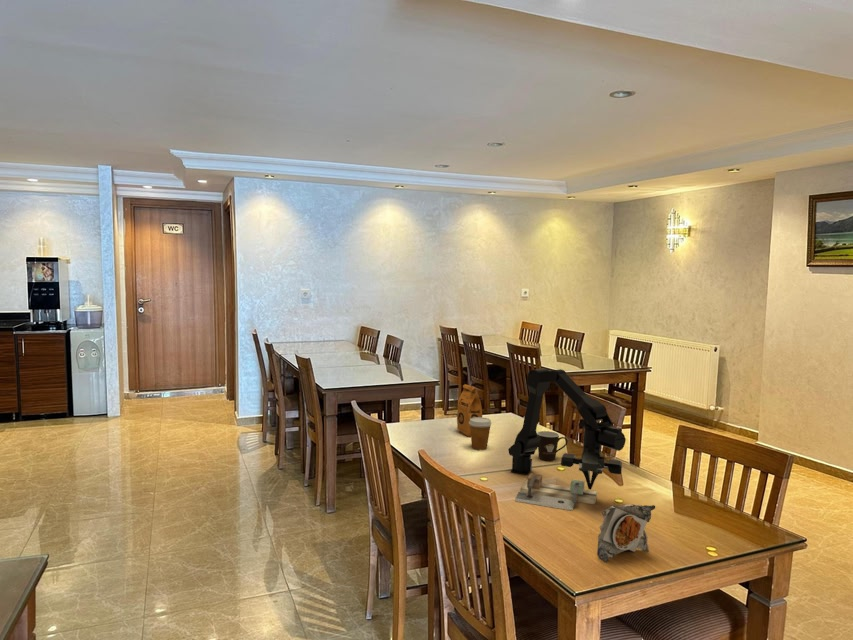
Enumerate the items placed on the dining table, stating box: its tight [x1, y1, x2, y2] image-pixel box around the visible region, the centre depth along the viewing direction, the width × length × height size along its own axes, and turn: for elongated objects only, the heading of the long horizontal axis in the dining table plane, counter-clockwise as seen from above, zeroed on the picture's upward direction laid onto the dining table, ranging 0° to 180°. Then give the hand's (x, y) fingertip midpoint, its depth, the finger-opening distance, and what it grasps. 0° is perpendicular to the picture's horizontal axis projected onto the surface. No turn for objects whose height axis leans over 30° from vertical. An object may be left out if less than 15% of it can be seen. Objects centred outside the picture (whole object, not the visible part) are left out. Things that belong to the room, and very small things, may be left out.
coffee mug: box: [536, 430, 569, 462], centre depth 223 cm, size 12×9×10 cm
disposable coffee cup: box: [469, 416, 492, 451], centre depth 235 cm, size 10×10×12 cm
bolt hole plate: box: [514, 491, 576, 512], centre depth 180 cm, size 18×6×1 cm, turn 69°
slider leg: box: [569, 479, 586, 504], centre depth 181 cm, size 4×12×3 cm, turn 159°
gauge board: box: [519, 472, 598, 505], centre depth 184 cm, size 24×14×5 cm, turn 69°
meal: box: [596, 503, 656, 564], centre depth 146 cm, size 15×4×13 cm, turn 113°
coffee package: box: [456, 383, 483, 438], centre depth 256 cm, size 10×12×22 cm
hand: (589, 488), depth 183 cm, fingers closed
